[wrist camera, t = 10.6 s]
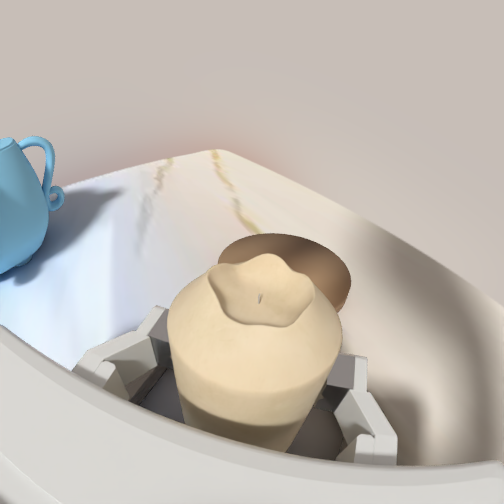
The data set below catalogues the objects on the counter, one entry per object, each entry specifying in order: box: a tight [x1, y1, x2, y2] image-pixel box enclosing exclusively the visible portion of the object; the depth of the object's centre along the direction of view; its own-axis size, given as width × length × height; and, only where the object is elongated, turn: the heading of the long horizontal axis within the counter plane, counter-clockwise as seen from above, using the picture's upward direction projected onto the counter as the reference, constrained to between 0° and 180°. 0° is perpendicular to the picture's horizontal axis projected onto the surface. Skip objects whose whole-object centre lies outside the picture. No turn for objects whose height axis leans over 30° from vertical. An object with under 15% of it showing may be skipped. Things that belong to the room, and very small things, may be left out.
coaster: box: [218, 233, 351, 313], centre depth 25 cm, size 11×11×1 cm
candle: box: [167, 253, 342, 453], centre depth 11 cm, size 6×6×10 cm
